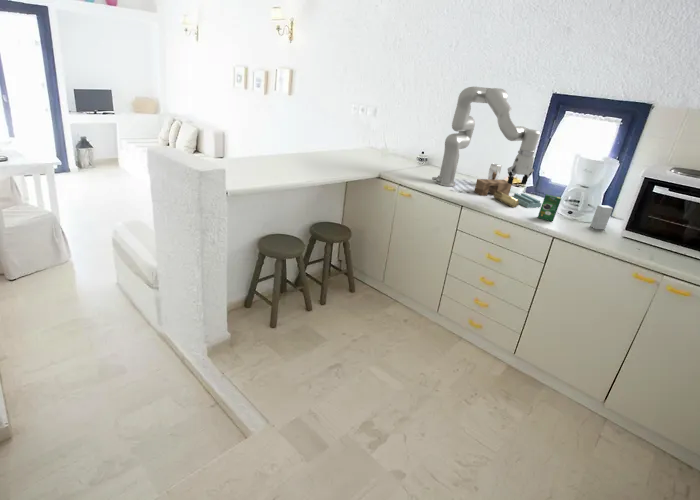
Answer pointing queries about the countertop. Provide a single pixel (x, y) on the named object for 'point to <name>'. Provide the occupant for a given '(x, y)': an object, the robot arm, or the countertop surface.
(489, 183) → the beam
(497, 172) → the beer glass
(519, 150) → the robot arm
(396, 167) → the countertop surface
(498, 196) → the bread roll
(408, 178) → the countertop surface
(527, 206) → the v block
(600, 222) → the skincare box
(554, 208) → the coffee box
